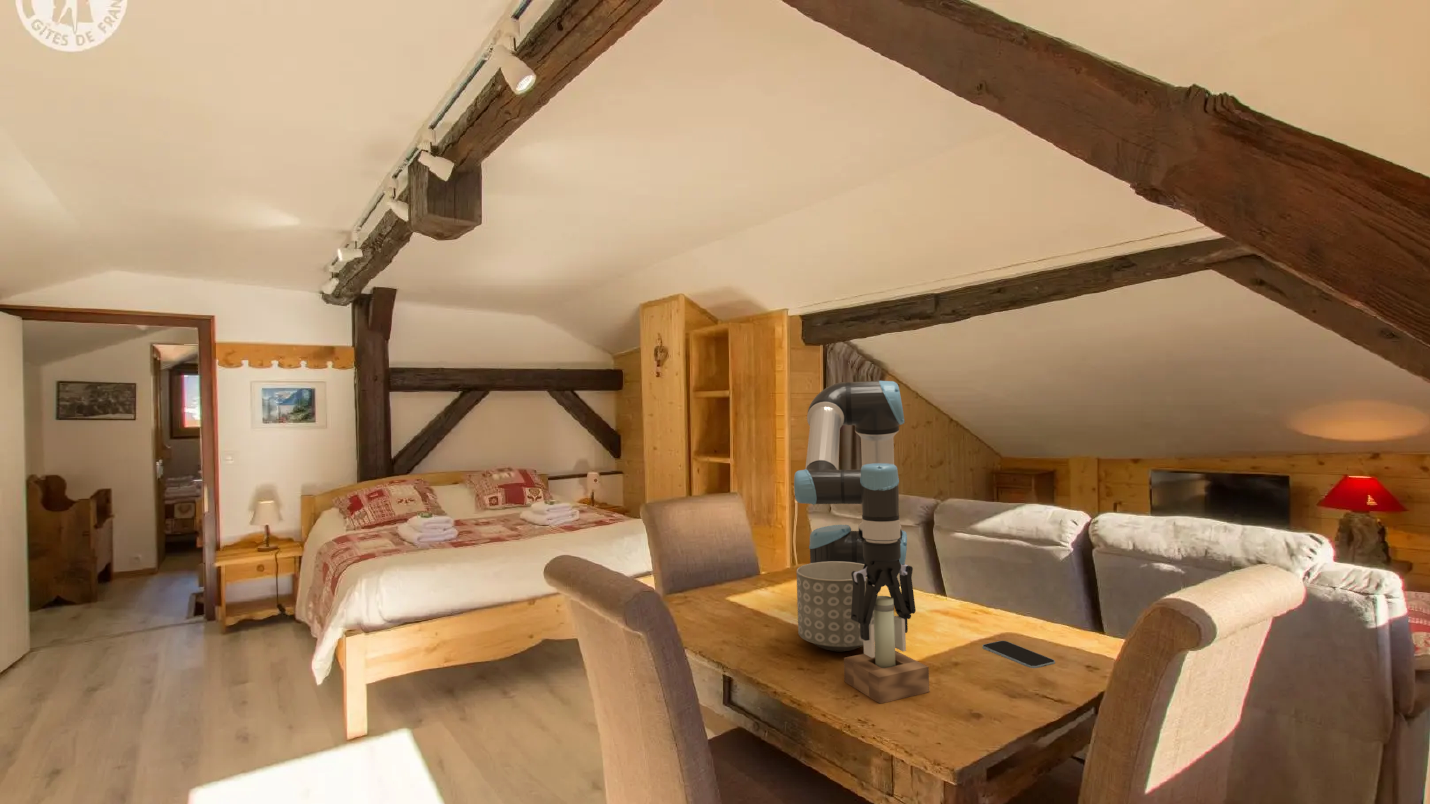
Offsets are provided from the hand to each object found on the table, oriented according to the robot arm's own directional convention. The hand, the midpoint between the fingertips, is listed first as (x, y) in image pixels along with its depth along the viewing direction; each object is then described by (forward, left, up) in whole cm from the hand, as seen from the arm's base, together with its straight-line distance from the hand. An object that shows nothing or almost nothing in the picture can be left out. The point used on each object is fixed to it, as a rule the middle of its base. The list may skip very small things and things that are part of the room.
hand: (884, 652), depth 141 cm
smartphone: (-37, -1, -8) cm, 38 cm away
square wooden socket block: (0, 0, -7) cm, 7 cm away
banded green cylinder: (0, 0, -7) cm, 7 cm away
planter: (-5, -25, -7) cm, 27 cm away
